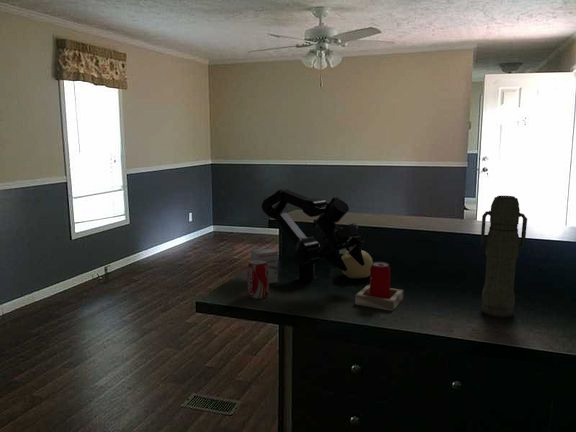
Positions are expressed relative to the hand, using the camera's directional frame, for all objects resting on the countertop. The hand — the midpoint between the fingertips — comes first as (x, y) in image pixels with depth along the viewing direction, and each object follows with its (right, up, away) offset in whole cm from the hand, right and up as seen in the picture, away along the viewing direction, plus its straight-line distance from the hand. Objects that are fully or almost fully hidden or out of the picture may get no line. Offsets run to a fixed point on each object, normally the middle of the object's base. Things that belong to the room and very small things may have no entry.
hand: (355, 267), depth 156 cm
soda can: (-32, -10, 0) cm, 34 cm away
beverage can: (+7, -10, -5) cm, 13 cm away
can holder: (+7, -10, -5) cm, 13 cm away
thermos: (+41, -12, -14) cm, 45 cm away
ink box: (-31, -7, +15) cm, 35 cm away
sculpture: (+4, -6, +22) cm, 23 cm away
